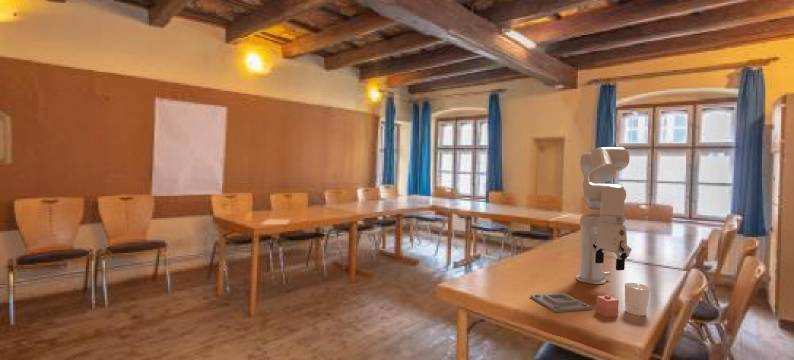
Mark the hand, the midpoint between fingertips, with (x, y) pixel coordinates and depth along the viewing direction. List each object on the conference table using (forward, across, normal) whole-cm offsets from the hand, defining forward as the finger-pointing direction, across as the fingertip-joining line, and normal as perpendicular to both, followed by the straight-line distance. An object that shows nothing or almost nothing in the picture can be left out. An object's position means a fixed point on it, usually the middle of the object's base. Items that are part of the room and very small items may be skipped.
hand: (609, 266), depth 143 cm
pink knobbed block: (+18, 0, 0) cm, 18 cm away
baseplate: (+18, +13, +10) cm, 24 cm away
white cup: (+18, -1, -12) cm, 22 cm away
